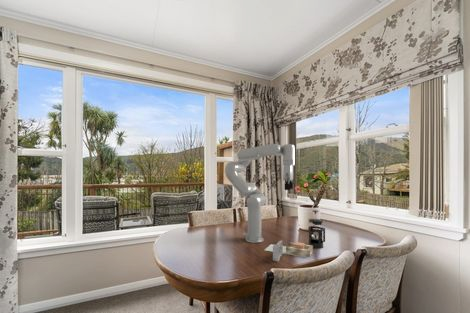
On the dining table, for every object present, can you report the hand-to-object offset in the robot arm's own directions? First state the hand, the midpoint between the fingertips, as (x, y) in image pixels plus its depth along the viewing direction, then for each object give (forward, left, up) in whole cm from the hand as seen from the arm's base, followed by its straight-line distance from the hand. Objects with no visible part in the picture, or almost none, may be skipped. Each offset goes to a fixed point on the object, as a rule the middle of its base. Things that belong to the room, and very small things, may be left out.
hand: (288, 189), depth 155 cm
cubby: (+9, -9, -36) cm, 38 cm away
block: (+9, -9, -36) cm, 38 cm away
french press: (+16, +8, -37) cm, 41 cm away
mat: (+2, -9, -36) cm, 38 cm away
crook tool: (0, -23, -36) cm, 43 cm away
